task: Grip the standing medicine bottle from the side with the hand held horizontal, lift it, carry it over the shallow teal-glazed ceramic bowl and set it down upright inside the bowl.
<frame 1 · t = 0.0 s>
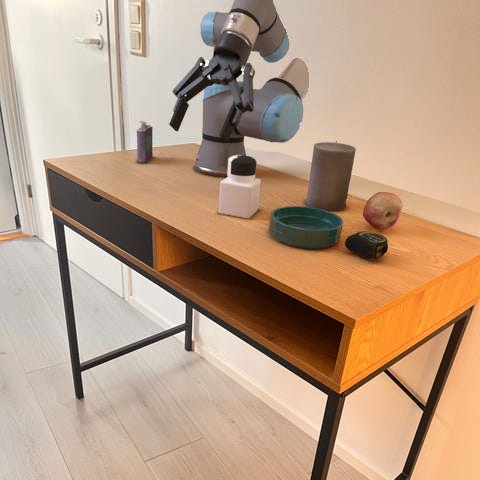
hand: (197, 133, 105), 15 cm above the table, tool tilted 35°, fingers open, 13 cm apart
tape measure: (365, 257, 93), on the table
medicine bottle: (238, 212, 110), on the table
flask: (144, 160, 144), on the table
pillar candle: (325, 205, 119), on the table
fruit: (377, 229, 107), on the table
bowl: (303, 236, 100), on the table
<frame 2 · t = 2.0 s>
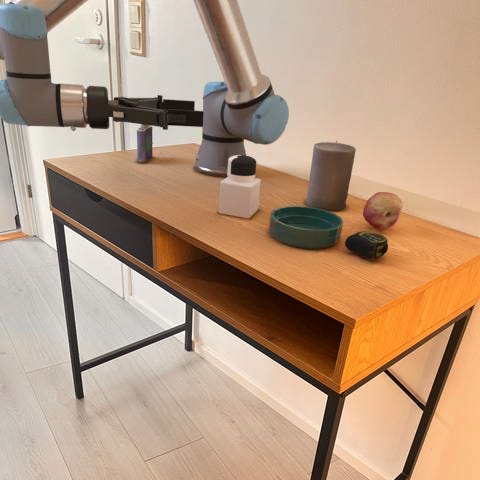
hand: (198, 113, 98), 20 cm above the table, tool horizontal, fingers open, 13 cm apart
nothing on the table moved.
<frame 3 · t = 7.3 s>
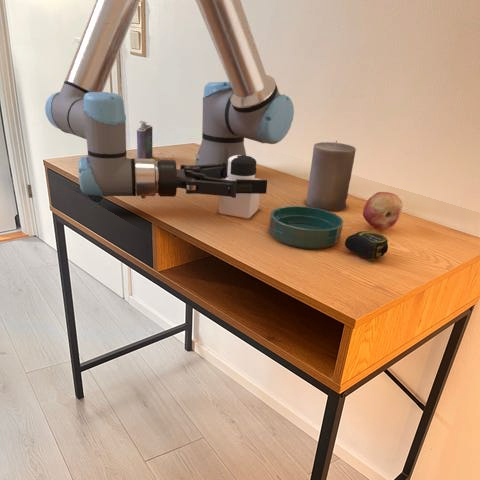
hand: (260, 180, 107), 7 cm above the table, tool horizontal, fingers closed on medicine bottle, 9 cm apart
medicine bottle: (238, 212, 110), on the table, touching gripper
everything else where it was.
when the fingers open (8 cm above the table, at t = 16.2 s): medicine bottle stays where it is, resting on bowl.
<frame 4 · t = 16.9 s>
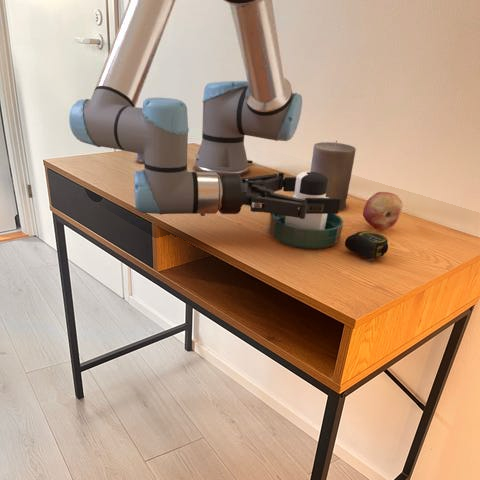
hand: (326, 194, 96), 9 cm above the table, tool horizontal, fingers open, 13 cm apart
medicine bottle: (303, 234, 99), resting on bowl
everything else where it was.
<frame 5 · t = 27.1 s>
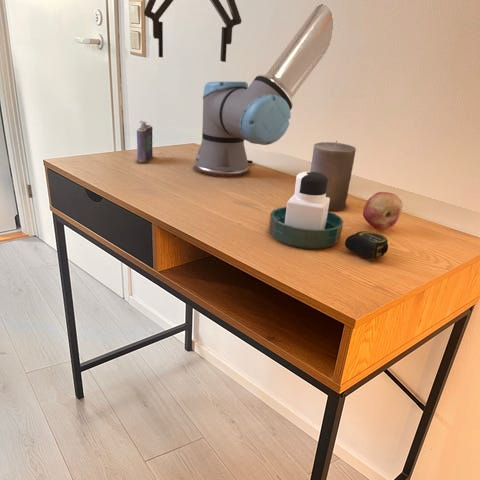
hand: (192, 59, 107), 29 cm above the table, tool pointing down, fingers open, 13 cm apart
nothing on the table moved.
at the end: medicine bottle inside the target area in the bowl (0.1 cm from its centre), point 0.4 cm above the bowl's base; medicine bottle tilted 0°; the gripper is holding nothing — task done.
